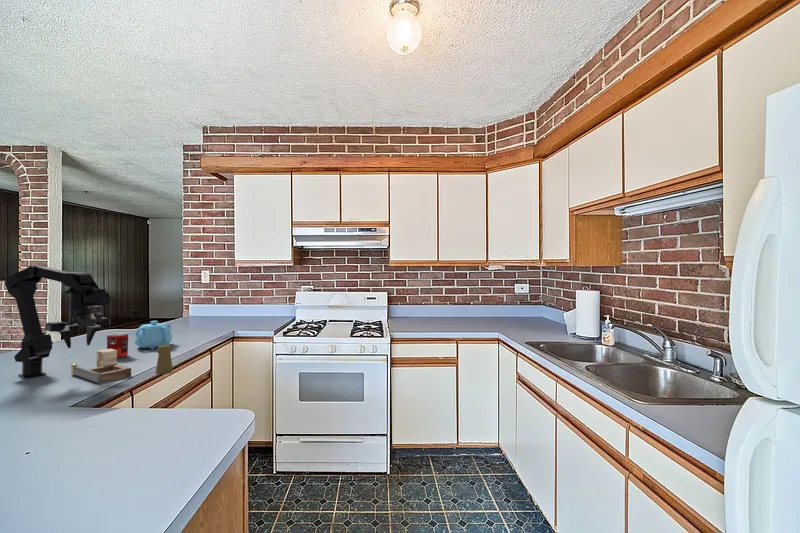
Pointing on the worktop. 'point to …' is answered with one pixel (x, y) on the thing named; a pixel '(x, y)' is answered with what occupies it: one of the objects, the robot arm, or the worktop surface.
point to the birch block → (106, 357)
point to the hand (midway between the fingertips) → (78, 346)
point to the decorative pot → (153, 335)
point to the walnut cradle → (112, 372)
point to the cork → (164, 360)
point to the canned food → (118, 343)
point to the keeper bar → (85, 373)
